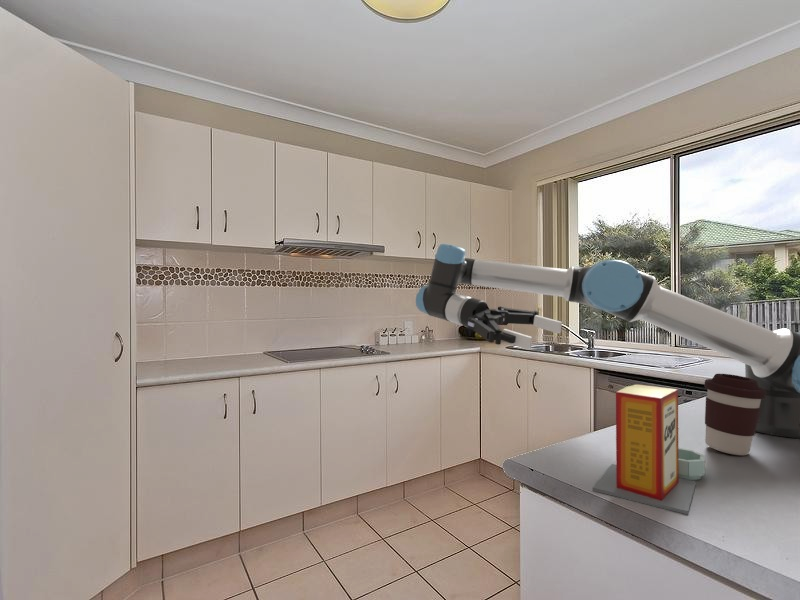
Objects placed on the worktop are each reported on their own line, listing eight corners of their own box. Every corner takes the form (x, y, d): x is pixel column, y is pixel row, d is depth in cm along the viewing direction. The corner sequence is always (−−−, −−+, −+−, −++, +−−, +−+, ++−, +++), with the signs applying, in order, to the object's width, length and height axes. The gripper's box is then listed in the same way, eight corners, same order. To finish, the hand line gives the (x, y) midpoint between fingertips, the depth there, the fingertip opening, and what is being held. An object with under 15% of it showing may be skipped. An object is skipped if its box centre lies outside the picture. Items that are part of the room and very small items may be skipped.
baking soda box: (636, 471, 77) (635, 382, 77) (678, 482, 72) (677, 387, 72) (616, 487, 71) (615, 389, 71) (661, 500, 66) (660, 395, 66)
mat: (695, 484, 73) (695, 481, 73) (688, 514, 63) (687, 511, 63) (611, 466, 81) (611, 463, 81) (592, 490, 71) (592, 487, 71)
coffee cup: (701, 436, 96) (709, 369, 95) (758, 450, 89) (768, 379, 88) (693, 446, 88) (702, 374, 88) (756, 463, 82) (766, 386, 81)
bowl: (706, 472, 78) (706, 452, 78) (703, 485, 72) (703, 464, 72) (661, 463, 82) (660, 444, 82) (654, 474, 77) (654, 455, 77)
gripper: (494, 315, 118) (569, 336, 104) (434, 338, 101) (514, 368, 87) (496, 288, 116) (573, 307, 102) (436, 308, 99) (518, 333, 85)
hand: (546, 335), depth 94 cm, fingers open, 13 cm apart
